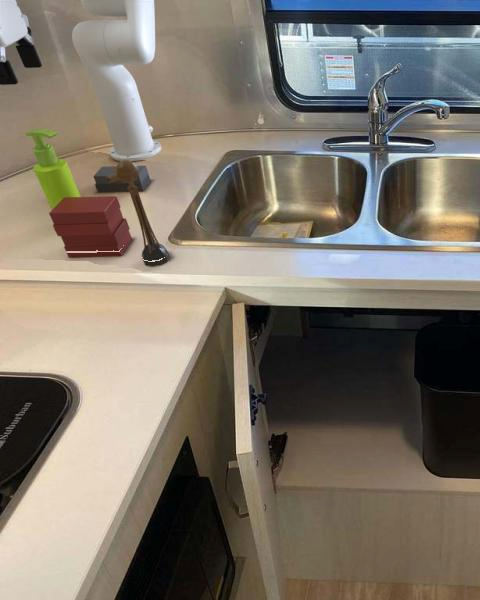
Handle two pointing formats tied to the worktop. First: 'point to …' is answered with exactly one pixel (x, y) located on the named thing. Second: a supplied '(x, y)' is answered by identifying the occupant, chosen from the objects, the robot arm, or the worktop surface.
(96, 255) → the red books
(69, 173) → the soap dispenser
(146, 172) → the grey books
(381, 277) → the worktop surface
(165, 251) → the wooden tabletop sculpture
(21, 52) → the robot arm
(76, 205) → the red book
